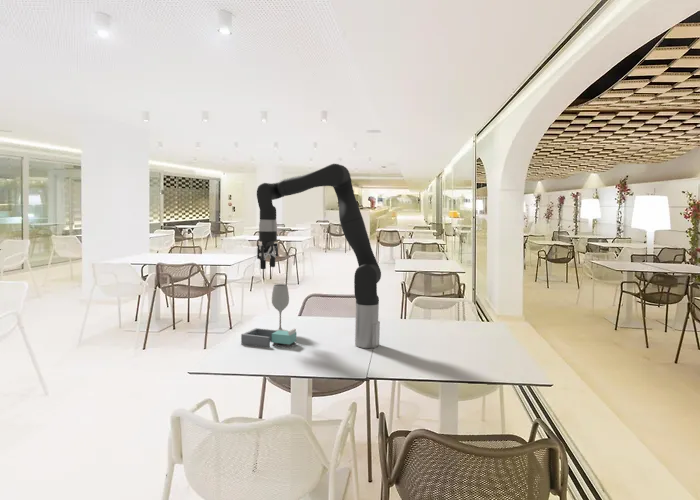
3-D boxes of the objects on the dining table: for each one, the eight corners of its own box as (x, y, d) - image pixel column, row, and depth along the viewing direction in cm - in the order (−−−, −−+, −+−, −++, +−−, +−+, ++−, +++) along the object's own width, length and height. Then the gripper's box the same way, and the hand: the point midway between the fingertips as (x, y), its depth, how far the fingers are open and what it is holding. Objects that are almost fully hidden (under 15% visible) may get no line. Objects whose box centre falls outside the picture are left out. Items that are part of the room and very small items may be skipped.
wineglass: (290, 330, 219) (290, 284, 217) (286, 334, 211) (286, 286, 209) (274, 329, 219) (274, 283, 218) (269, 333, 212) (269, 286, 210)
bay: (281, 340, 202) (281, 330, 201) (268, 347, 191) (268, 337, 190) (255, 337, 206) (256, 328, 205) (241, 344, 195) (241, 334, 194)
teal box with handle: (296, 344, 196) (296, 328, 196) (289, 348, 191) (289, 331, 190) (278, 342, 199) (278, 326, 198) (271, 346, 193) (271, 330, 193)
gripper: (267, 231, 199) (267, 270, 200) (283, 230, 212) (283, 266, 214) (251, 230, 201) (251, 269, 203) (268, 229, 215) (268, 265, 216)
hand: (267, 267), depth 208 cm, fingers open, 8 cm apart
